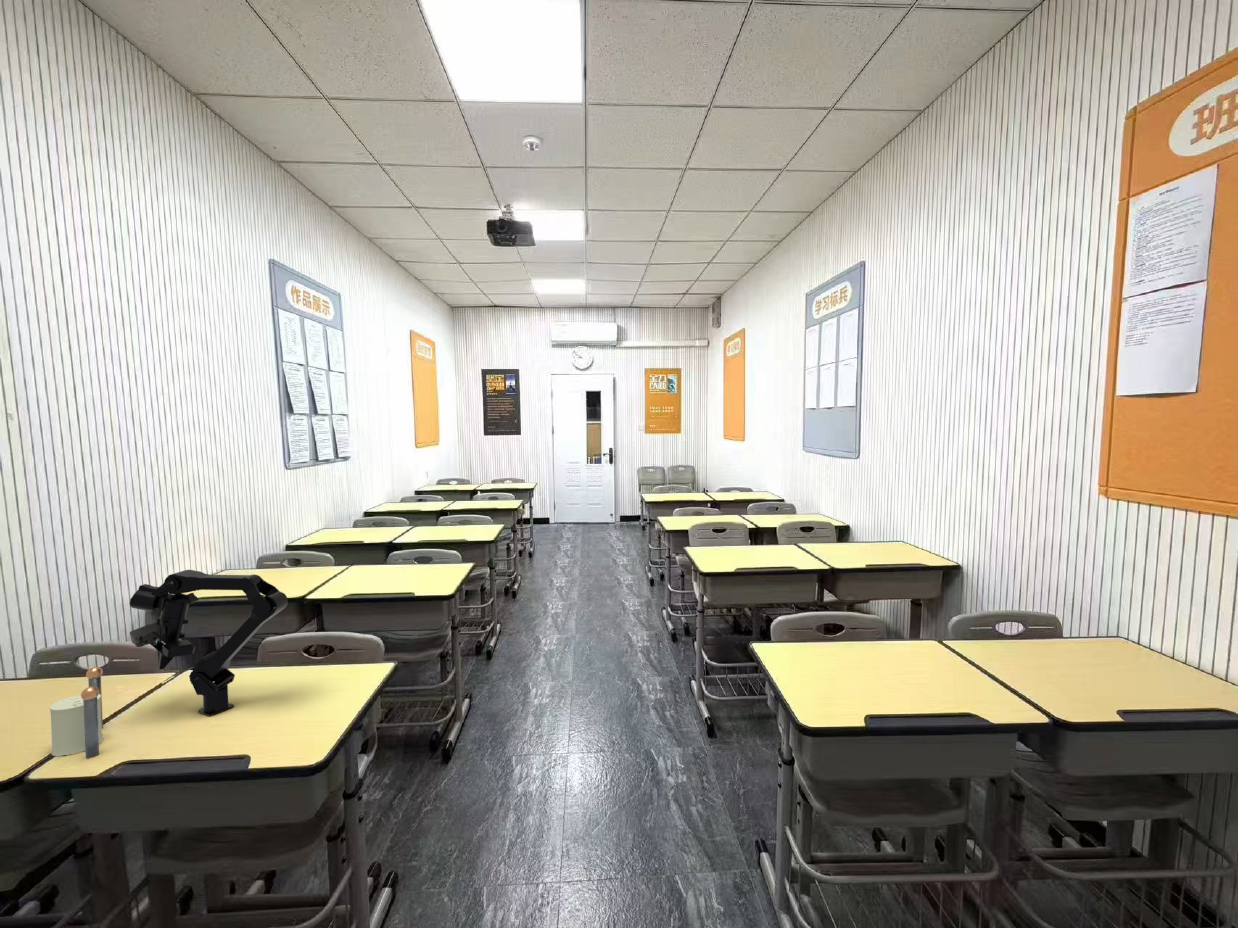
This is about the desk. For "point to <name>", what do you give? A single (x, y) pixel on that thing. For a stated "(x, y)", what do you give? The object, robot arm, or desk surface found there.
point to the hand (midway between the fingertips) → (161, 668)
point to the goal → (92, 711)
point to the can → (70, 725)
